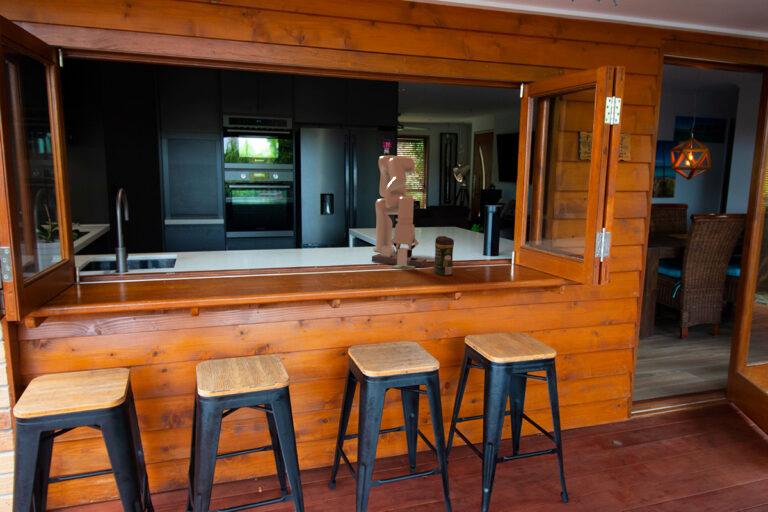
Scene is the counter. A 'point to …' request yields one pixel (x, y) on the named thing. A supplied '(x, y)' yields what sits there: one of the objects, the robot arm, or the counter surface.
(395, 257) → the board with square holes
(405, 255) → the pale pink rectangular block
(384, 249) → the brown wooden block
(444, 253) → the coffee jar
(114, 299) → the counter surface
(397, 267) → the mat
